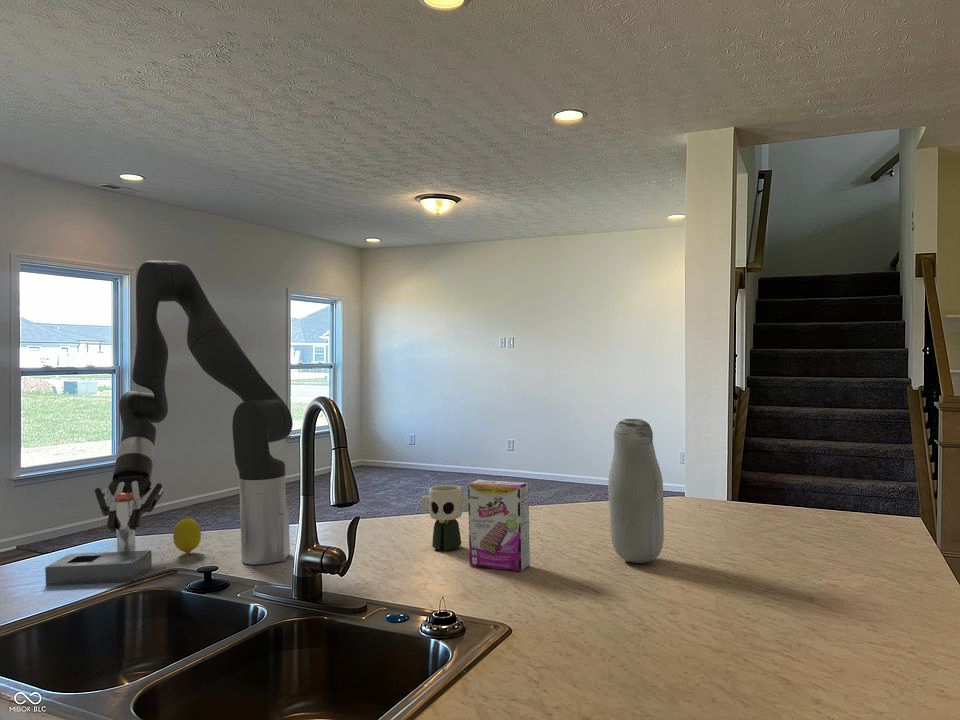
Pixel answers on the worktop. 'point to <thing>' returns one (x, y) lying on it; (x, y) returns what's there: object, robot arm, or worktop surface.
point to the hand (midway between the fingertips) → (123, 528)
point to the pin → (124, 521)
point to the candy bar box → (499, 525)
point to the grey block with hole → (98, 567)
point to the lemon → (187, 535)
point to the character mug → (445, 514)
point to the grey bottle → (635, 493)
